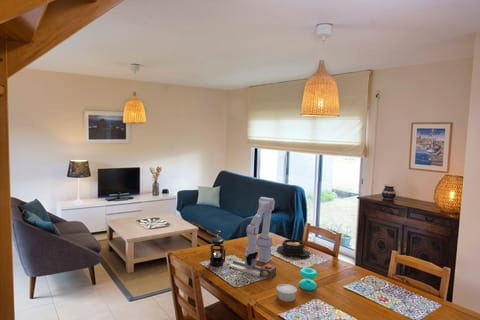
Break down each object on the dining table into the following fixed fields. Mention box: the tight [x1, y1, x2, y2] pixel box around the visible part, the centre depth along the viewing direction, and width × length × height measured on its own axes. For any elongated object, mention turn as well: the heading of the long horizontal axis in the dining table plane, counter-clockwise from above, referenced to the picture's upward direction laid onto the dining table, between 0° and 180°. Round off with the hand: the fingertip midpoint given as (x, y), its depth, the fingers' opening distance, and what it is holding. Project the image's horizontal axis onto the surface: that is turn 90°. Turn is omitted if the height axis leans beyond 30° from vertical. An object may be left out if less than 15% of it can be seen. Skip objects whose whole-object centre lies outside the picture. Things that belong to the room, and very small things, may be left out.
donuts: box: [298, 267, 318, 291], centre depth 191 cm, size 10×10×10 cm
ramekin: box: [275, 283, 298, 303], centre depth 178 cm, size 11×11×5 cm
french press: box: [209, 229, 227, 268], centre depth 218 cm, size 12×9×23 cm
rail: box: [228, 259, 262, 277], centre depth 213 cm, size 10×22×3 cm, turn 58°
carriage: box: [244, 258, 257, 269], centre depth 211 cm, size 4×6×5 cm, turn 57°
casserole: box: [276, 238, 311, 257], centre depth 245 cm, size 25×19×8 cm
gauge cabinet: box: [259, 263, 277, 280], centre depth 205 cm, size 8×7×5 cm
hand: (250, 264), depth 211 cm, fingers closed on carriage, 4 cm apart
